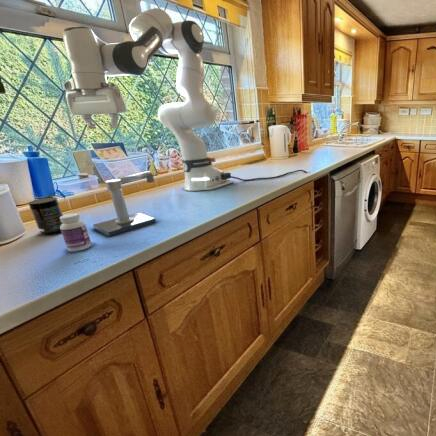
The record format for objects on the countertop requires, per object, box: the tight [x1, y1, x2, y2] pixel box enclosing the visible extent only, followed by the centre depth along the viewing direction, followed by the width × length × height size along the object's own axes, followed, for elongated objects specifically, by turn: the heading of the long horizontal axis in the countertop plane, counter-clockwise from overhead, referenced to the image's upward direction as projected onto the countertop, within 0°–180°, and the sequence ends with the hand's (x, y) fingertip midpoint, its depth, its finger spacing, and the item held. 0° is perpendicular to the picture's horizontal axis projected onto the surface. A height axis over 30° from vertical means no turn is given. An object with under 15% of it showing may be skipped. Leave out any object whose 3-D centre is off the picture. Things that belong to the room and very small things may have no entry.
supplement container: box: [28, 197, 64, 236], centre depth 95 cm, size 7×7×10 cm
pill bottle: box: [60, 212, 92, 252], centre depth 83 cm, size 5×5×10 cm
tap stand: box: [92, 188, 157, 237], centre depth 98 cm, size 14×12×12 cm
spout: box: [105, 170, 155, 192], centre depth 102 cm, size 17×4×4 cm, turn 165°
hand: (103, 128), depth 102 cm, fingers open, 8 cm apart
